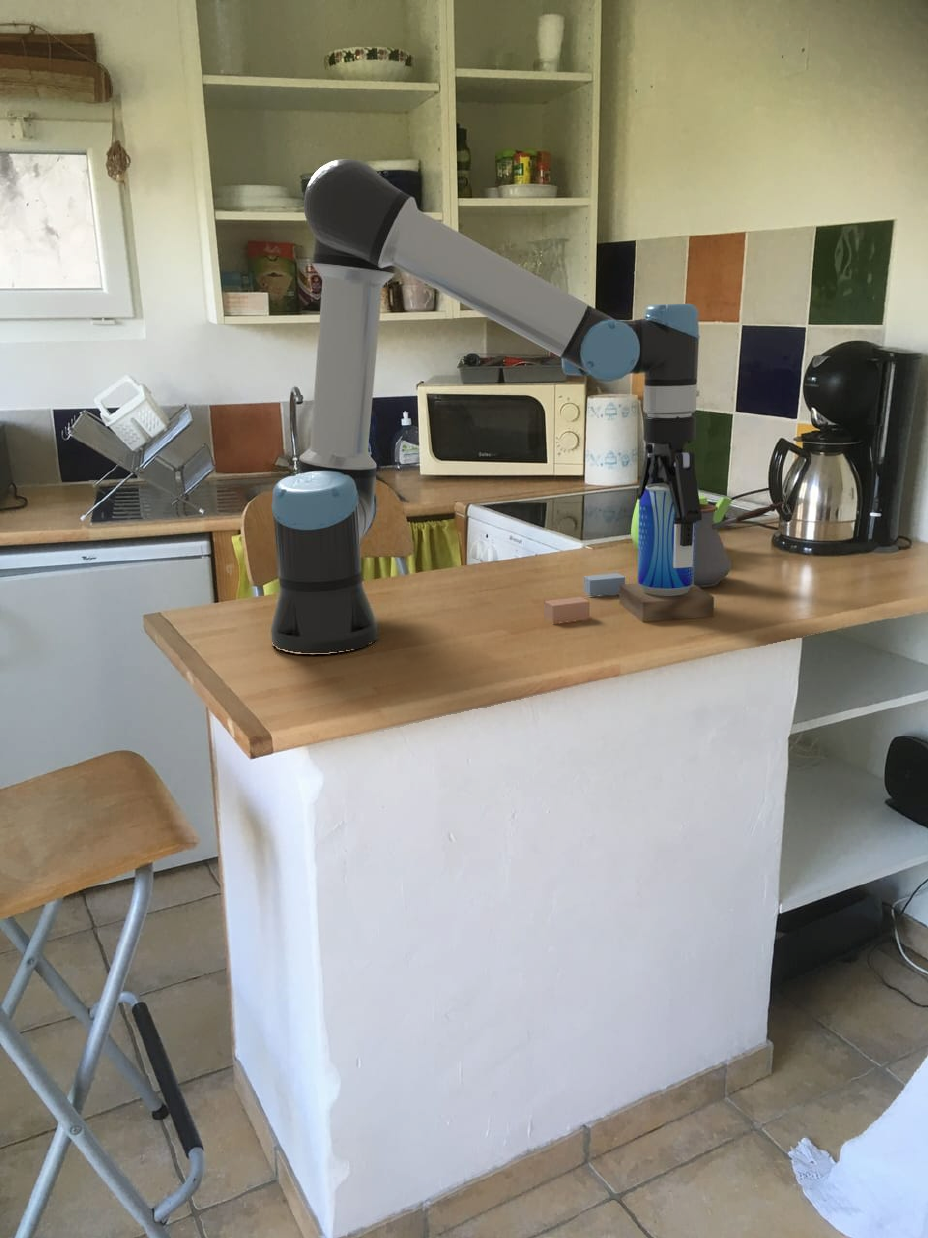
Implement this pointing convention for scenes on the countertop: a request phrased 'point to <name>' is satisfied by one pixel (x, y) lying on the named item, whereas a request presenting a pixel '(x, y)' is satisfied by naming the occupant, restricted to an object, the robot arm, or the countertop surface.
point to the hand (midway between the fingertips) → (666, 557)
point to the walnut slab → (666, 604)
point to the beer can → (660, 545)
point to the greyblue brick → (603, 584)
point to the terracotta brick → (566, 609)
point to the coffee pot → (717, 544)
